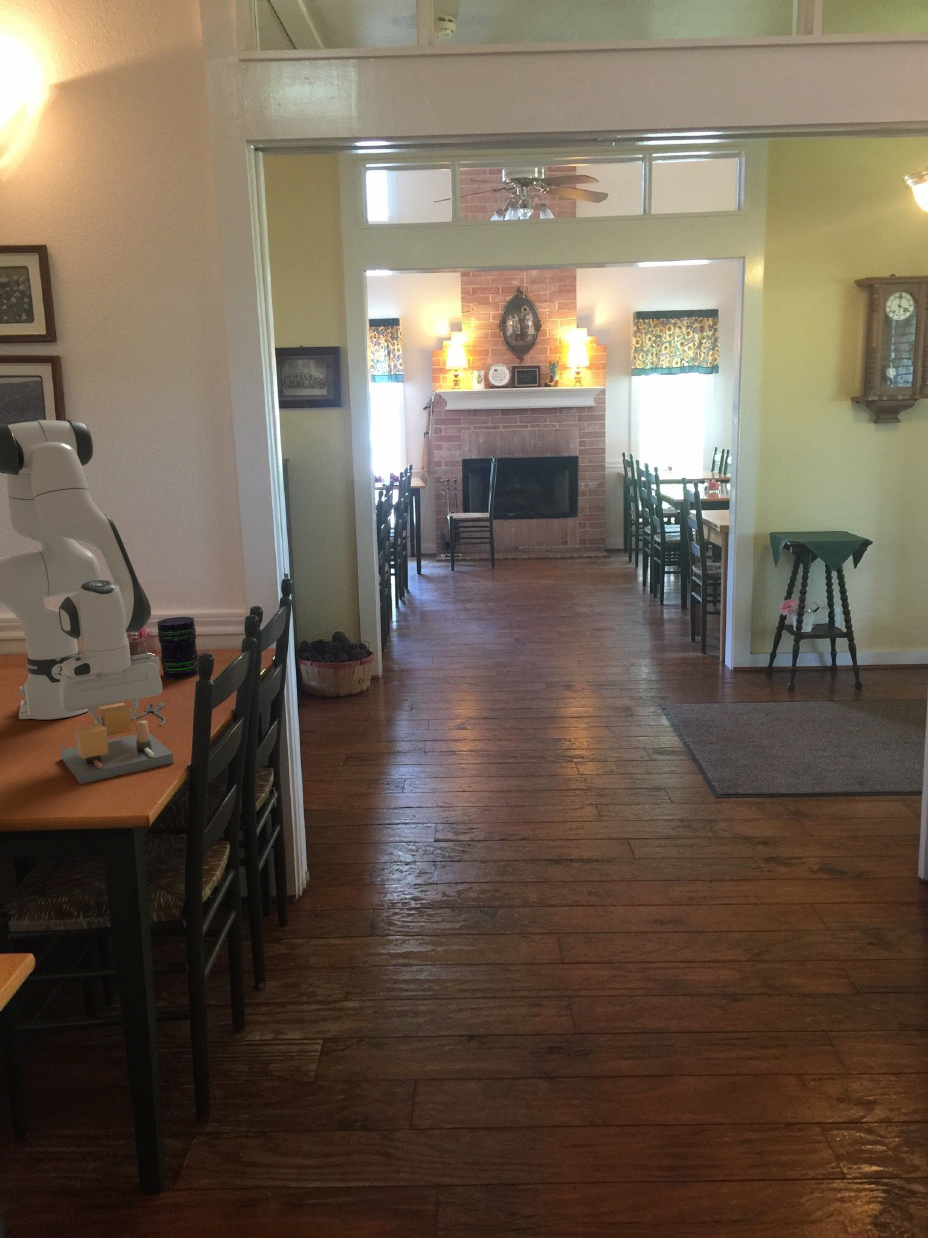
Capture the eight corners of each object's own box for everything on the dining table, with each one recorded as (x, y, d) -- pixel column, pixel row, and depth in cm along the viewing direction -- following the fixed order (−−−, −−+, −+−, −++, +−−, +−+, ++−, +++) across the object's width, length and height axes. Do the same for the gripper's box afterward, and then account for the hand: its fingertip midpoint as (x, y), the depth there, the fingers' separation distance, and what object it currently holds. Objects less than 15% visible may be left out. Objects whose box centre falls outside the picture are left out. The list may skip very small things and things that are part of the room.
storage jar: (202, 668, 273) (196, 615, 270) (197, 677, 263) (192, 623, 260) (165, 671, 272) (159, 618, 269) (159, 680, 262) (153, 625, 259)
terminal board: (61, 759, 203) (56, 718, 201) (149, 740, 213) (144, 701, 211) (80, 784, 188) (74, 740, 186) (173, 763, 198) (169, 721, 196)
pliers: (121, 729, 220) (122, 705, 238) (121, 733, 220) (122, 709, 238) (166, 723, 222) (164, 700, 241) (166, 727, 223) (164, 703, 241)
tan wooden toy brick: (101, 730, 207) (98, 707, 206) (125, 725, 209) (123, 702, 208) (107, 736, 203) (104, 713, 201) (131, 731, 205) (129, 708, 204)
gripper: (154, 648, 211) (161, 709, 214) (53, 664, 200) (62, 729, 203) (162, 654, 205) (169, 717, 208) (59, 671, 195) (68, 737, 198)
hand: (115, 723), depth 206 cm, fingers closed on tan wooden toy brick, 5 cm apart
